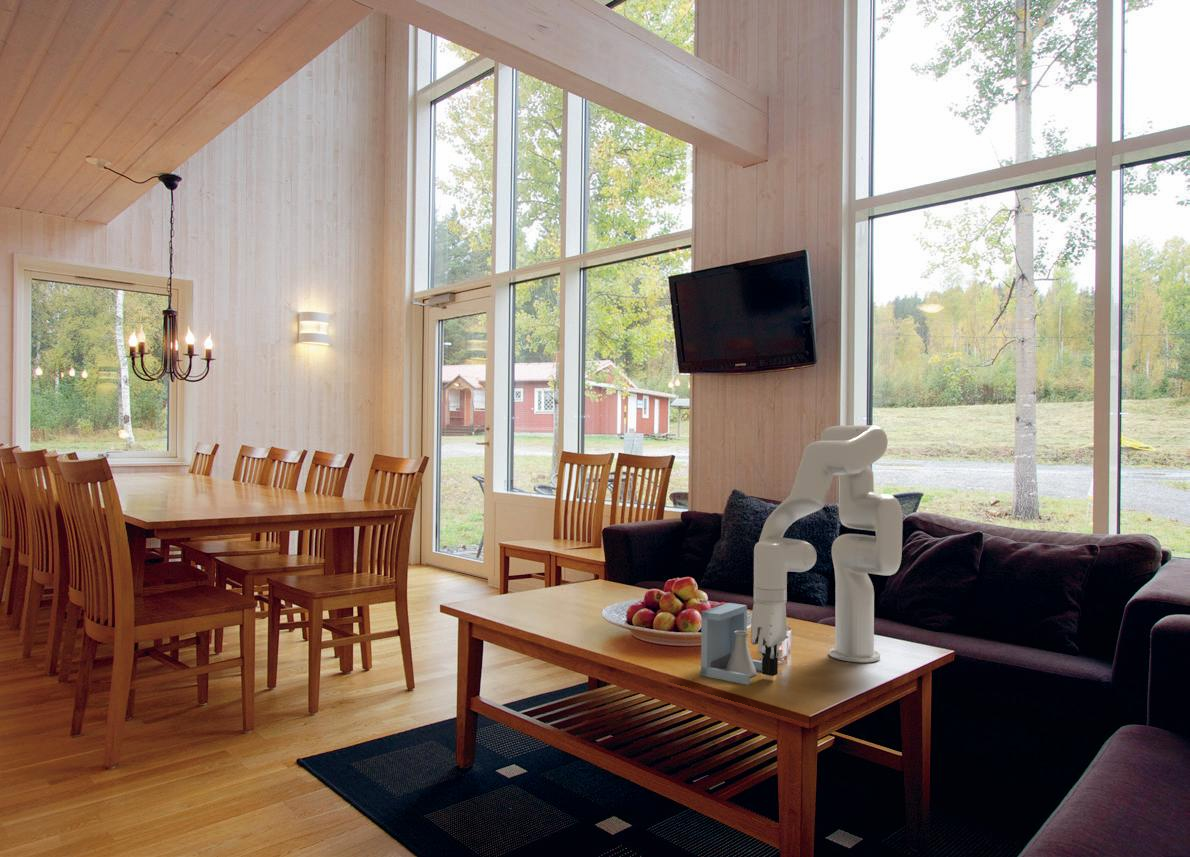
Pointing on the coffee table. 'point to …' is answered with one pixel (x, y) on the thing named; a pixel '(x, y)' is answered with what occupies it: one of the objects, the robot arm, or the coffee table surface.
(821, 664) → the coffee table surface
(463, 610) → the coffee table surface
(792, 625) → the coffee table surface
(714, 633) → the blue frame
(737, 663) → the flask
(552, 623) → the coffee table surface
